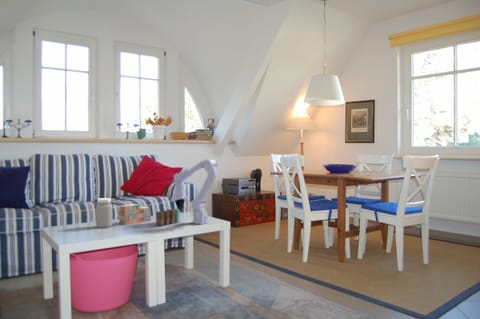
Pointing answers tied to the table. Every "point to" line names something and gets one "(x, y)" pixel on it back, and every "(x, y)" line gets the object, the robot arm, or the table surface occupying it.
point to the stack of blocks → (133, 214)
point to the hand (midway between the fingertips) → (179, 210)
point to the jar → (104, 213)
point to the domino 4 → (176, 215)
